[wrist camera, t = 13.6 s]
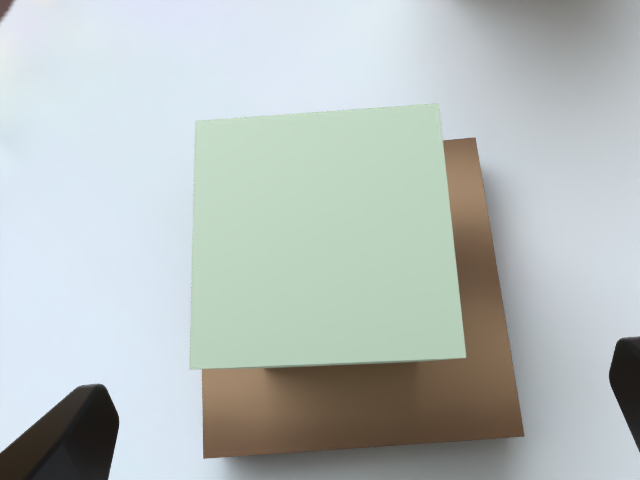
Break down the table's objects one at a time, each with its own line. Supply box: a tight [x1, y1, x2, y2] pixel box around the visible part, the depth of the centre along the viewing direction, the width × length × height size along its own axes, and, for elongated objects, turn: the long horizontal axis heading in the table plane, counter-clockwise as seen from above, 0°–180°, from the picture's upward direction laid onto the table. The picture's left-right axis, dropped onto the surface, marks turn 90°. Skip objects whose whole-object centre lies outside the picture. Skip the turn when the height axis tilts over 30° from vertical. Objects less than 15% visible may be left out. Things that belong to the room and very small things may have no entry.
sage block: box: [190, 103, 466, 369], centre depth 16 cm, size 6×6×9 cm
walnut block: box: [202, 138, 524, 459], centre depth 22 cm, size 12×12×3 cm
